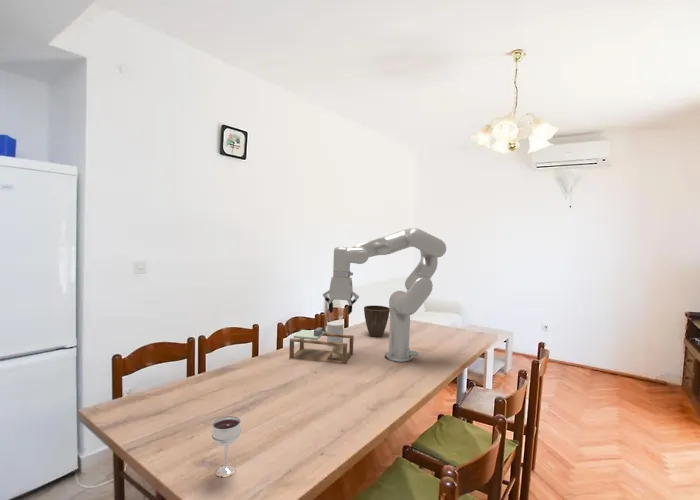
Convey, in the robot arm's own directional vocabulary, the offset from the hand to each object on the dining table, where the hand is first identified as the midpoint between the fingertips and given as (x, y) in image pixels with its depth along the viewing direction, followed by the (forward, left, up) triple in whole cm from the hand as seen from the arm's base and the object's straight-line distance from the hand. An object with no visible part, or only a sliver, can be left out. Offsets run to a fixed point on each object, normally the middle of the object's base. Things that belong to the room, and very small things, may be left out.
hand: (340, 312), depth 171 cm
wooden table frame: (+8, 0, -22) cm, 23 cm away
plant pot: (-10, -47, -22) cm, 53 cm away
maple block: (0, 0, -20) cm, 20 cm away
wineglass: (+7, +85, -22) cm, 88 cm away
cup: (+7, -19, -22) cm, 30 cm away
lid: (+14, 0, -12) cm, 19 cm away
